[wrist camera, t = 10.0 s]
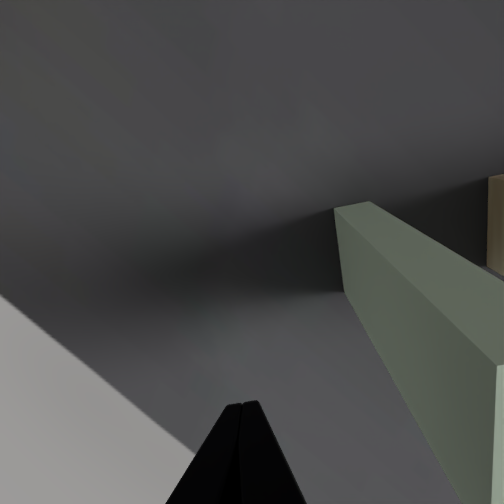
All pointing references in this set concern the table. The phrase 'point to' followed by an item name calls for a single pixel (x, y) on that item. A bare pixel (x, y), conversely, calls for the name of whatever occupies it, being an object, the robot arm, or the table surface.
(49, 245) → the table surface
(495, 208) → the tile
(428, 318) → the head tile
